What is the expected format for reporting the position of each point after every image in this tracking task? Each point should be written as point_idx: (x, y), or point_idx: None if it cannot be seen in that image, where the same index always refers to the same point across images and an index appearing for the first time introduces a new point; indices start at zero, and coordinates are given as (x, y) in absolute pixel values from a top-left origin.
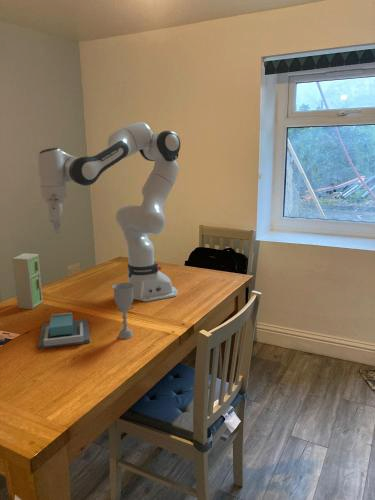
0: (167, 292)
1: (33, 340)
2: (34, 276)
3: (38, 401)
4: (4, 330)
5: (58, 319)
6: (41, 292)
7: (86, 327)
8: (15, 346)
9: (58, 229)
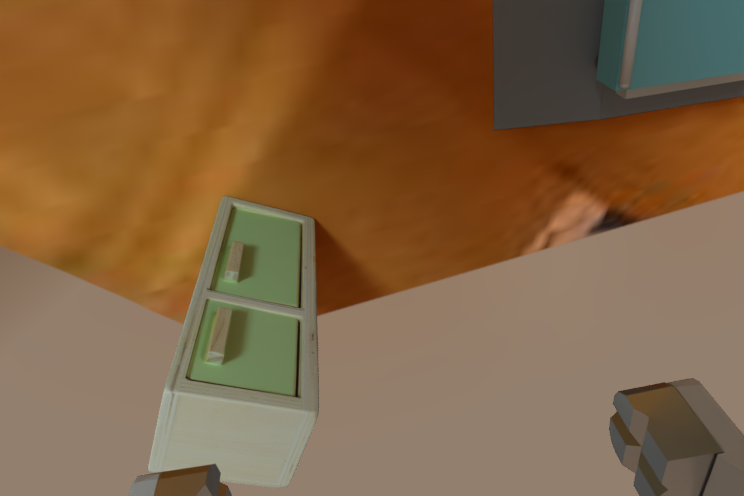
0: None
1: (652, 128)
2: (262, 301)
3: None
4: (519, 256)
5: (681, 42)
6: (220, 222)
7: None
8: (675, 180)
9: (729, 430)
